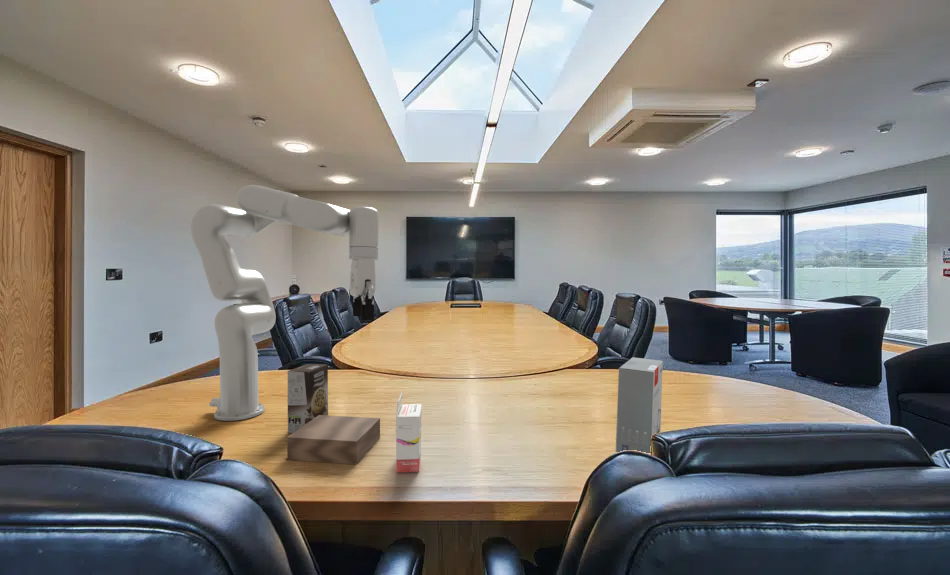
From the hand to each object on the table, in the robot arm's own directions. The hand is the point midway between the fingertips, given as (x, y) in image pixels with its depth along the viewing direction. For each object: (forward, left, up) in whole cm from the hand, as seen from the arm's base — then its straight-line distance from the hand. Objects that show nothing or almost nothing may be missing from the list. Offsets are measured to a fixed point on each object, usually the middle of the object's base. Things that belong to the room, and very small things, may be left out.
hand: (362, 317), depth 110 cm
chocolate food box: (-13, -5, -29) cm, 32 cm away
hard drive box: (+71, -5, -29) cm, 77 cm away
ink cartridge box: (+19, -21, -29) cm, 40 cm away
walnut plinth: (0, -16, -29) cm, 33 cm away
